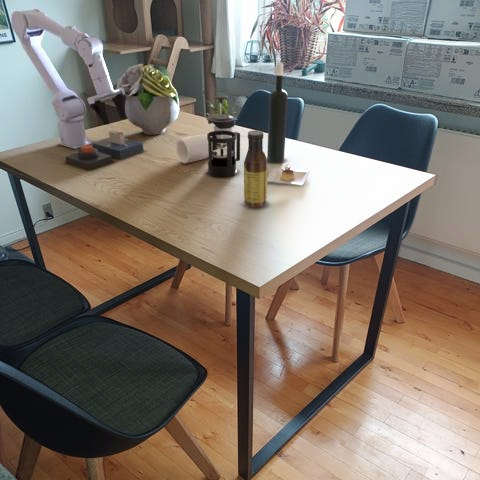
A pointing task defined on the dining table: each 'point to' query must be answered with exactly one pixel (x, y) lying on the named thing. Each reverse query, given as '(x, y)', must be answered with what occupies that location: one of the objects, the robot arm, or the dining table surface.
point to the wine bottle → (277, 119)
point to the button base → (88, 159)
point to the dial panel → (119, 148)
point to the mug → (192, 148)
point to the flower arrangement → (149, 98)
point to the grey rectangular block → (116, 137)
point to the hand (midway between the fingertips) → (115, 121)
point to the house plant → (224, 111)
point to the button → (87, 148)
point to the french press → (222, 158)
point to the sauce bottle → (255, 171)
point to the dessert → (287, 176)
